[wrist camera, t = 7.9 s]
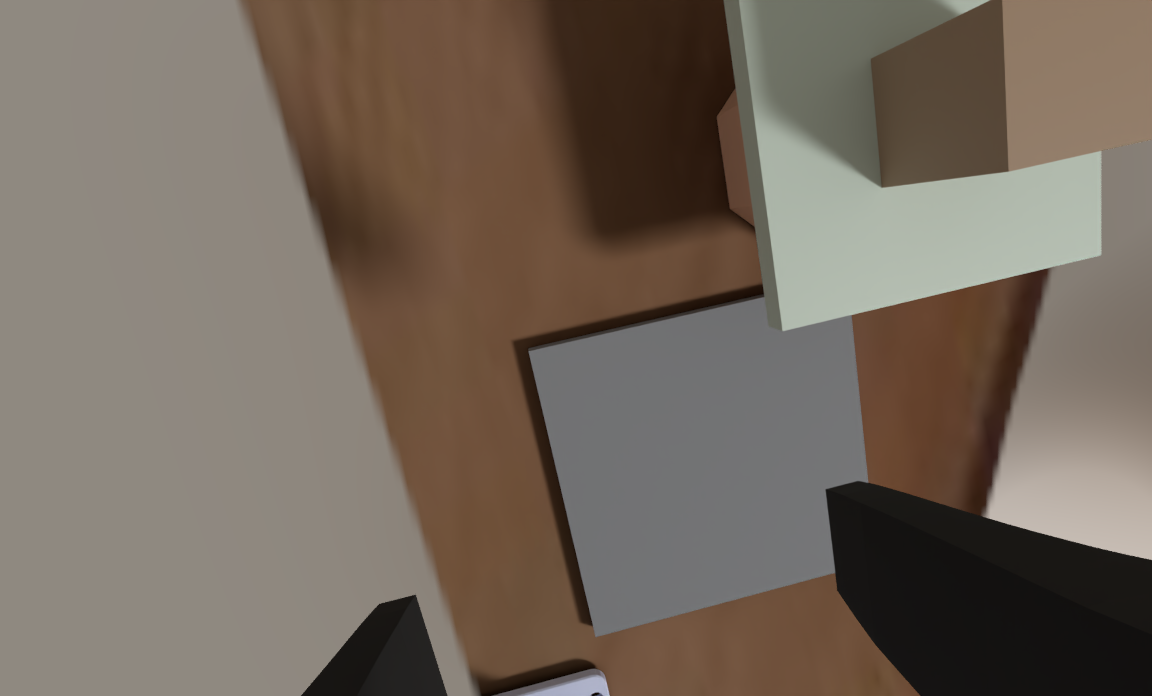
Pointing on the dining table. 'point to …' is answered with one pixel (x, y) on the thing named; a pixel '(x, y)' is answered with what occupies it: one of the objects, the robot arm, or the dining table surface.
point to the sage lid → (929, 140)
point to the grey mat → (700, 455)
